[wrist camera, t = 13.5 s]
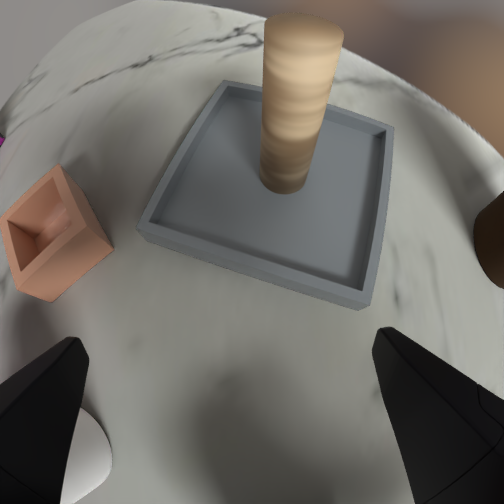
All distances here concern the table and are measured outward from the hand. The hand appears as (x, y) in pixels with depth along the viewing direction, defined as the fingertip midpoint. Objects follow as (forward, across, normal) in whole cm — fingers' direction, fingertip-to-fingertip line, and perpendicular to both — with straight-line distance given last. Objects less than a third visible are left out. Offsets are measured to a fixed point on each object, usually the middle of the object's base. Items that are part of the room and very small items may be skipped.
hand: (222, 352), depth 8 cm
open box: (+16, +16, +3) cm, 23 cm away
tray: (+20, -4, 0) cm, 20 cm away
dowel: (+19, -4, -1) cm, 19 cm away
